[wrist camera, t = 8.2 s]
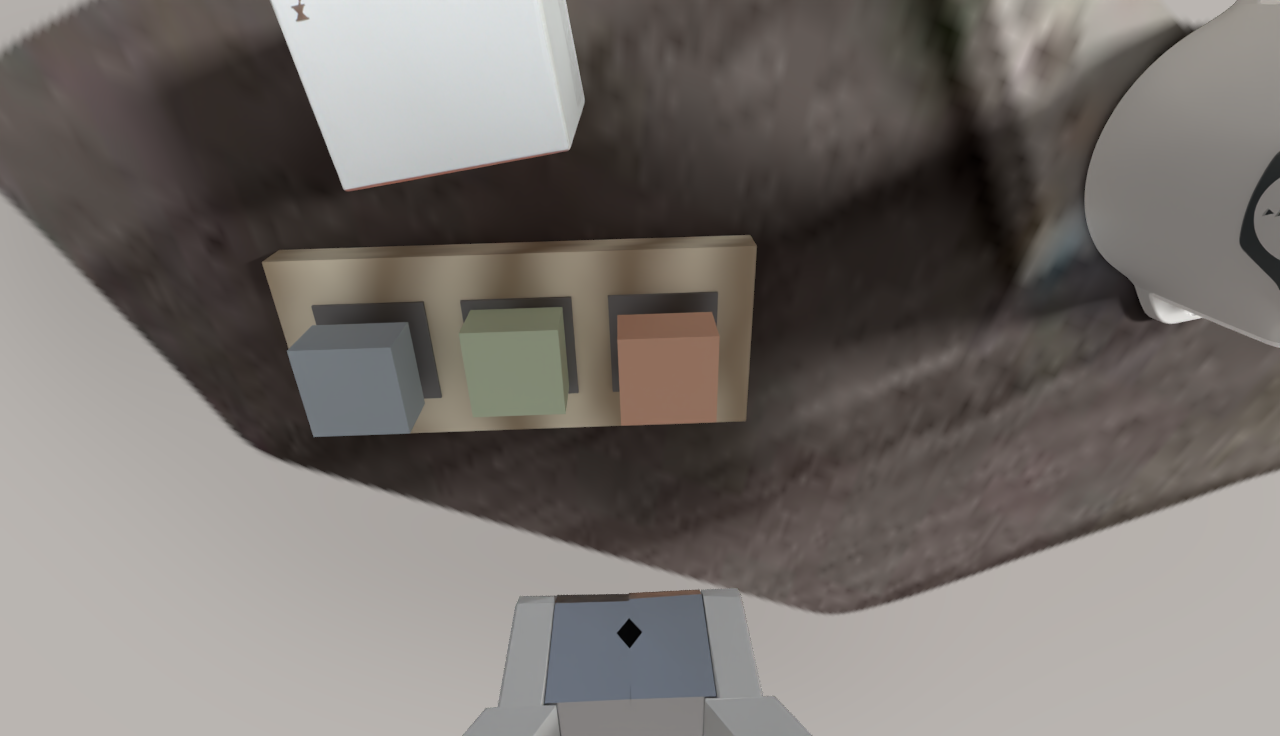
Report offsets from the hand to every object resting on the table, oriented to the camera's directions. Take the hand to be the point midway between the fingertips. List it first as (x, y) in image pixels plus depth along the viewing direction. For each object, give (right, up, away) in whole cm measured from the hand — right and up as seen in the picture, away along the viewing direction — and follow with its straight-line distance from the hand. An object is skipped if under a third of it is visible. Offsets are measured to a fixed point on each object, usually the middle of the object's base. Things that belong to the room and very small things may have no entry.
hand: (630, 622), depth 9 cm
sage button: (-7, +5, +28) cm, 29 cm away
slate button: (-14, +4, +27) cm, 30 cm away
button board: (-7, +6, +30) cm, 31 cm away
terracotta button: (+2, +4, +27) cm, 27 cm away
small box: (-7, +19, +23) cm, 31 cm away
